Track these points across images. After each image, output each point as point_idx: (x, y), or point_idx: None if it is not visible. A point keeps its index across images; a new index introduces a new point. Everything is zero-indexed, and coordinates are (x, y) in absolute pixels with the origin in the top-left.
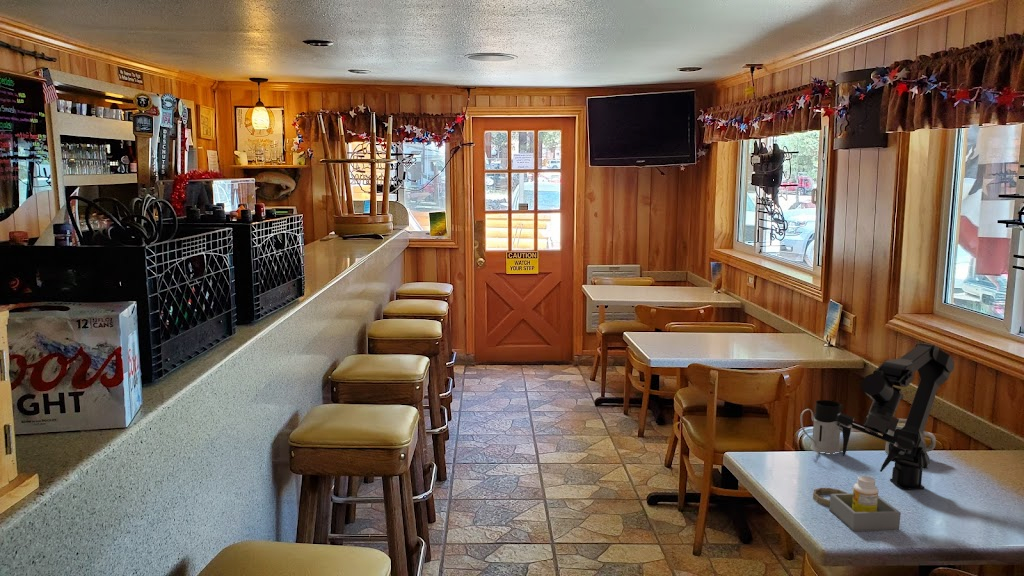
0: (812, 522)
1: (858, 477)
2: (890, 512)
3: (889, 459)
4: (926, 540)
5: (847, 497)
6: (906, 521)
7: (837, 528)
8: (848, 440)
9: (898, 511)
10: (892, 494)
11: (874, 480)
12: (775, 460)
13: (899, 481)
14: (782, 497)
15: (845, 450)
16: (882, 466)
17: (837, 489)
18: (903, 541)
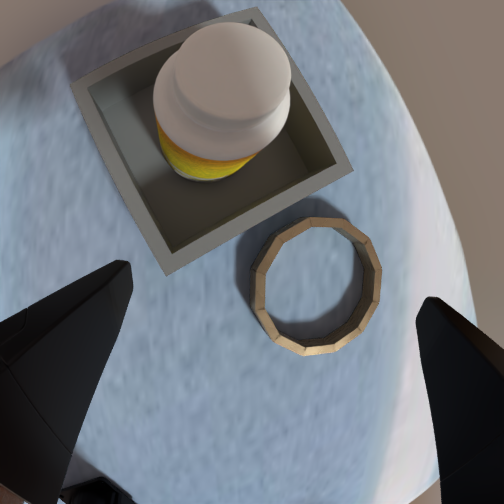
0: (355, 71)
1: (288, 70)
2: (110, 63)
3: (28, 315)
4: (25, 81)
5: (283, 190)
6: (57, 206)
7: (286, 48)
8: (493, 401)
9: (76, 90)
10: (121, 436)
11: (181, 53)
12: (422, 466)
13: (114, 499)
14: (438, 230)
15: (452, 320)
16: (106, 275)
17: (306, 353)
18: (92, 38)
